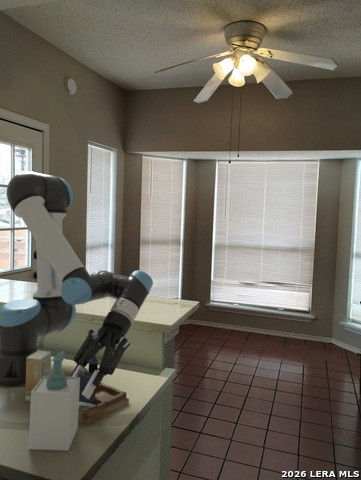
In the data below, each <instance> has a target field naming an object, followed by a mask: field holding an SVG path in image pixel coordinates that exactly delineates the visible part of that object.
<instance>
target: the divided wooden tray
mask: <svg viewBox="0 0 361 480" xmlns="http://www.w3.org/2000/svg"><path fill="white" fill-rule="evenodd" d="M129 403H130V398H128V397H127V392H126V391H123V390H121V389H119V388H116V387H113V386H110V385H109V384H106V383H104V382H101V383H100V385H99V386H98V387H97V386H96V393H95V401H94V402H93V403H92V404H90V403H84V402H79V411H78V422H81V423H83V424H85V425H87V426H89V425H91V424H92V423H94V422H96V421H98V420H100V419H102V418H103V416H104V417H105V416H107V415H109V414H111V413H112V412H114V410H115V411H116V410H119V409H120V408H122V407H123V406H126V405H128V404H129Z"/></svg>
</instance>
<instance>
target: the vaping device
mask: <svg viewBox="0 0 361 480" xmlns="http://www.w3.org/2000/svg"><path fill="white" fill-rule="evenodd" d="M97 368H99V360H98V359H97V356H96V355H95V356H93V357H92V359H90V360H89V363H88V368H86V367H85V368H82V369H80V373H79V377H80V390H79V402H84V403H90V404H92V403H93V402H94V401H95V393H96V387H95V389H94V391H93V393H92V395H91V397H90V398H89V399H87V398H85V397H84V396H83V395H82V393H83V391H84V389H85V387H86V385H87V384H88V382H89V380H90V378H91V377H92V375H93V373H94V371H95V370H96V371H98V370H97ZM98 372H99V371H98Z"/></svg>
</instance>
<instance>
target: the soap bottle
mask: <svg viewBox="0 0 361 480" xmlns="http://www.w3.org/2000/svg"><path fill="white" fill-rule="evenodd" d="M65 353H66V351H64V350H61V351H59V352H58V353H57V354H56V355H54V357H53V358H51V362H53V368H54V370H53V371H51V374H50V376H43V378H42V379H41V380H40V381H39V383H38V384H37V385H36V386H35V388H34V389H33V390H32V391H31V401H30V405H29V406H30V408H29V409H30V410H29V412H30V413H29V429H28V430H29V433H28V449H29V450H35V451H37V450H39V451H40V450H41V451H46V450H47V451H65V452H67V451H69V450H70V447H71V445H72V444H73V441H74V438H75V437H76V434H77V431H78V429H79V421H78V411H79V390H80V377H71V376H66V375H65V373H64V371H63V370H61V367H62V365H63V364H62V363H63V361H64V357H65Z"/></svg>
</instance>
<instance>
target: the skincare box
mask: <svg viewBox="0 0 361 480" xmlns="http://www.w3.org/2000/svg"><path fill="white" fill-rule="evenodd" d="M51 367H52V351H47V350H39V349H38V350H37V351H36V352H34V353H33V354H31V355H30V356H28V357H27V358H26V385H25V388H24V389H25V390H24V392H25V395H24V396H25V397H24V401H27V402H31V391H32V390H33V389H34V388H35V386H36V385H37V384H38V383H39V381H40V380H41V379H42V378H43V376H50V374H51V372H52V371H51V369H52V368H51Z"/></svg>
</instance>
